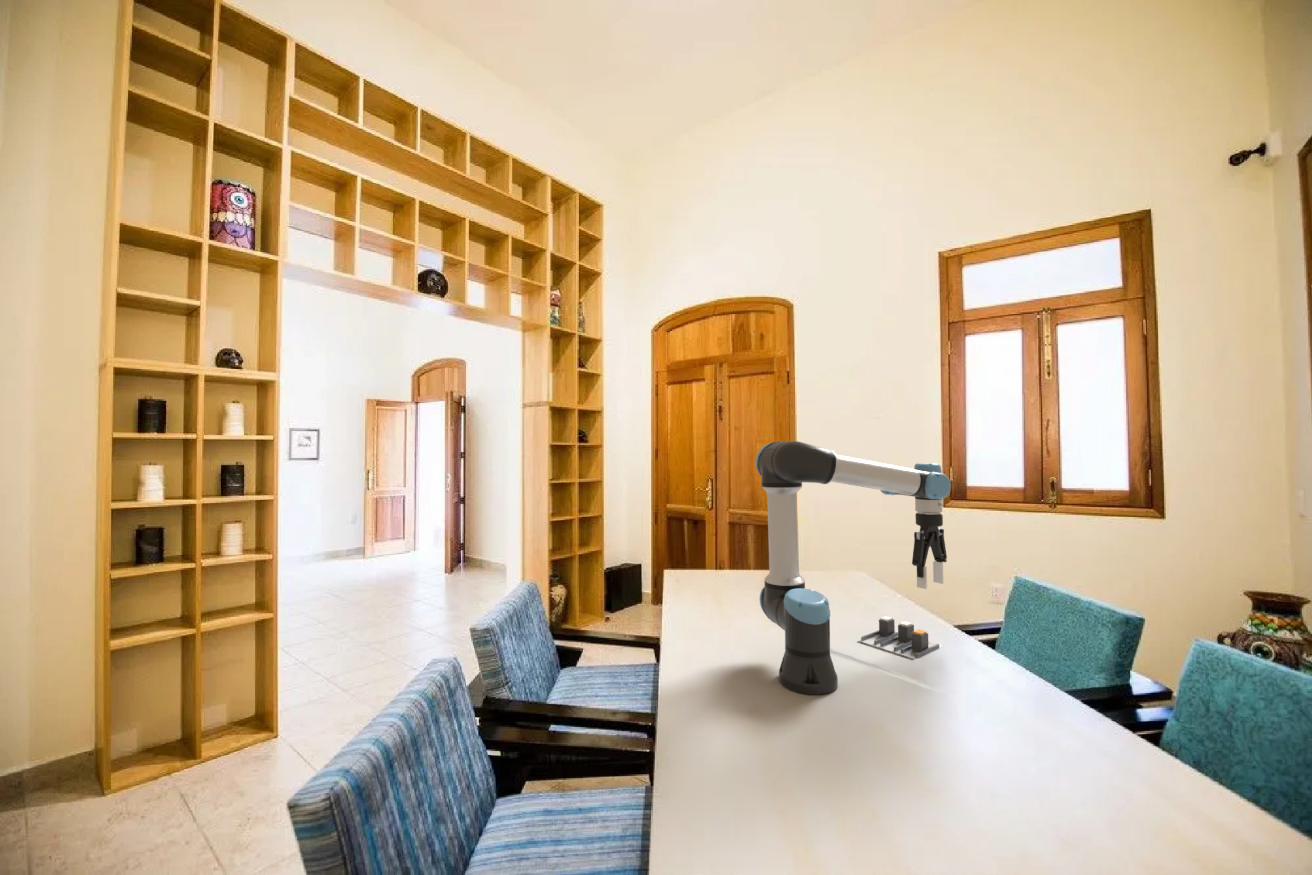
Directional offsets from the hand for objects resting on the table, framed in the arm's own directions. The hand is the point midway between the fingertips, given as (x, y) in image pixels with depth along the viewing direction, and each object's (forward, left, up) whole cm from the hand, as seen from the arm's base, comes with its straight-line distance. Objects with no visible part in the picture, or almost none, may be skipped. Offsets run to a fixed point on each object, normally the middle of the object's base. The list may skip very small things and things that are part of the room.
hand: (930, 585), depth 163 cm
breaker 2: (-3, +6, -18) cm, 20 cm away
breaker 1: (-3, +13, -18) cm, 23 cm away
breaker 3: (-7, 0, -18) cm, 20 cm away
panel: (-7, +6, -20) cm, 22 cm away
